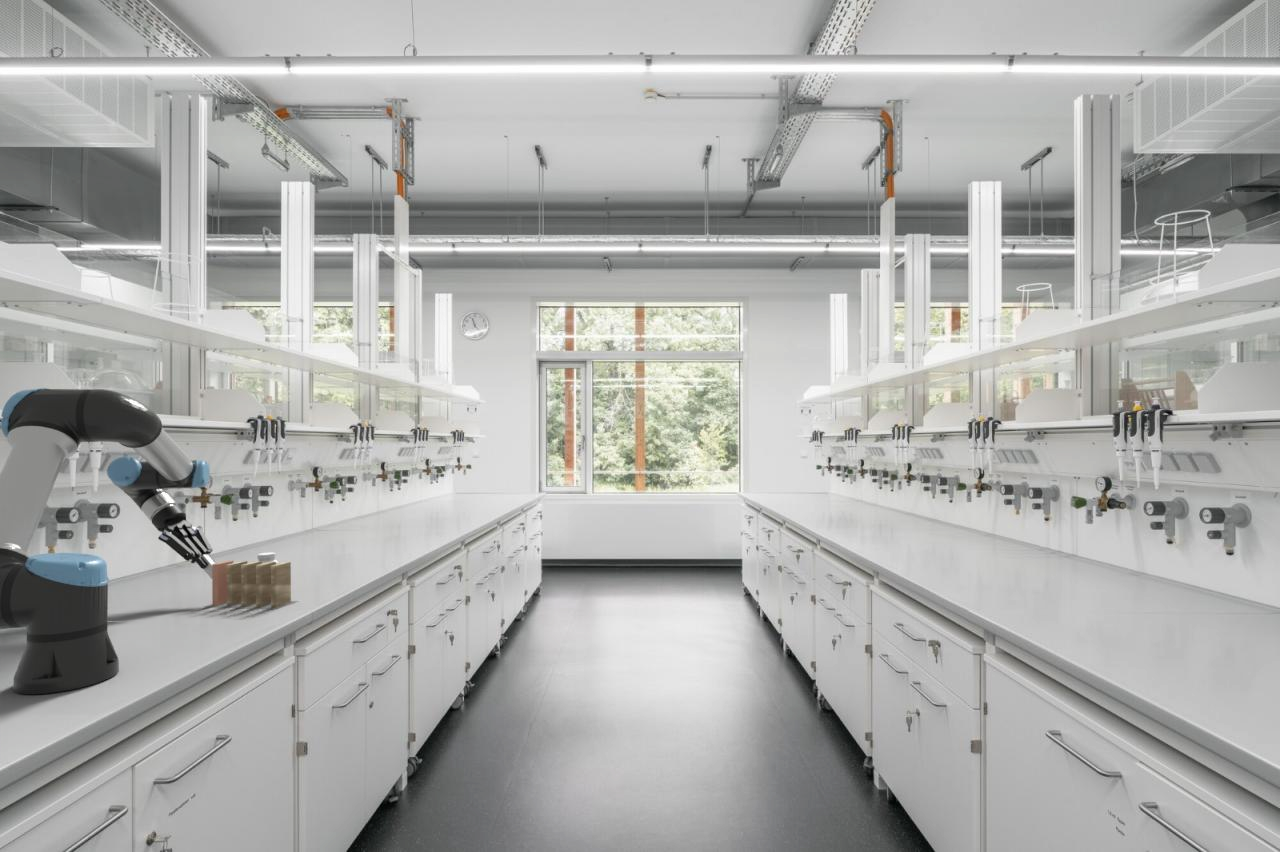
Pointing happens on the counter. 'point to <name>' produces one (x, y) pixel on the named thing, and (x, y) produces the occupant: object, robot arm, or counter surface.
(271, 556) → the pill bottle
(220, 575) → the domino
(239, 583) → the domino
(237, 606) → the mat
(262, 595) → the domino
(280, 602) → the domino
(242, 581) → the domino
